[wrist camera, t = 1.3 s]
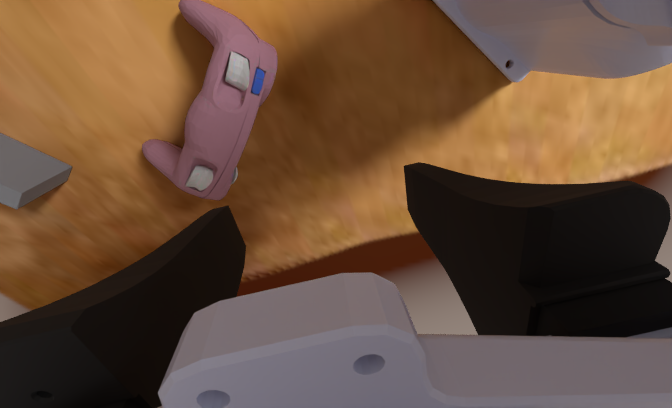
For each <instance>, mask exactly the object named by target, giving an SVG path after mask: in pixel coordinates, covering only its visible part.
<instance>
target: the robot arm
mask: <svg viewBox="0 0 672 408" xmlns="http://www.w3.org/2000/svg"><path fill="white" fill-rule="evenodd" d="M432 1H433V2H434V3H435V4H436V5H437V6H438V7H439V8H440V9H441V10H442V11H443V12H444V13H445V14H446V15H447V16H448V17H449V18H450V19H451V20H452V21H453V22H454V23H455V24H456V25H457V26H458V27H459V28H460V30H461V31H462V32H463V33H464V34H465V35H466V36H467V37H468V38H469V39H470V40H471V41H472V42H473V43H474V44H475V45H476V46H477V47H478V48H479V49H480V50H481V51H482V52H483V53H484V54H485V55H486V56H487V57H488V59H489V60H490V61H491V62H492V63H493V64H494V65H495V66H496V67H497V68H498V69H499V70H500V71H501V72H502V73H503V74H504V75H505V76H506V77H507V78H508V79H509V80H510V81H511V82H520V81H521V80H522V79H523V78H524V77H525V76H526V75H527V74H528V73H529V72H530V71H540V72H549V73H558V74H567V75H577V76H586V77H595V78H622V77H628V76H633V75H637V74H641V73H644V72H648V71H651V70H654V69H657V68H660V67H662V66H665V65H667V64H670V63H672V0H432ZM508 60H509V61H510V65H509V66H508V67H507V68H506V62H507V61H508ZM404 173H405V184H406V195H407V205H408V211H409V213H410V215H411V217H412V220H413V222H414V224H415V226H416V228H417V229H418V231H419V232H420V234H421V235H422V237H423V238H424V240H425V241H426V242H427V244H428V245H429V247H430V248H431V250H432V251H433V253H434V254H435V255H436V257H437V258H438V260H439V261H440V263H441V264H442V266H443V267H444V269H445V270H446V272H447V274H448V275H449V277H450V279H451V281H452V283H453V285H454V287H455V289H456V291H457V292H458V294H459V296H460V298H461V300H462V302H463V304H464V306H465V308H466V310H467V312H468V314H469V316H470V318H471V320H472V323H473V325H474V327H475V329H476V331H477V333H478V335H446V334H445V335H444V334H443V335H442V334H440V335H439V334H417V332H416V330H415V328H414V325H413V322H412V320H411V317H410V315H409V313H408V310H407V308H406V305H405V303H404V300H403V298H402V297H401V295H400V293H399V291H398V289H397V287H396V285H395V284H394V283H393V282H391V281H388V280H386V279H384V278H382V277H380V276H378V275H376V274H373V273H342V274H337V275H333V276H328V277H324V278H319V279H315V280H310V281H306V282H301V283H297V284H293V285H288V286H284V287H279V288H275V289H270V290H266V291H262V292H257V293H253V294H248V295H244V296H239V297H236V296H237V292H238V288H239V285H240V281H241V277H242V273H243V269H244V262H245V251H246V245H245V243H244V241H243V238H242V236H241V234H240V231H239V229H238V227H237V224H236V222H235V220H234V218H233V215H232V213H231V211H230V208H229V206H224V207H220V208H216V209H213V210H211V211H209V212H207V213H206V214H204V215H203V216H201V217H200V218H198V219H197V220H196V221H194V222H193V223H192V224H190V225H189V226H188V227H187V228H185V229H184V230H183V231H181V232H180V233H179V234H177V235H176V236H174V237H173V238H172V239H170V240H169V241H167V242H166V243H165V244H163V245H162V246H160V247H159V248H158V249H156V250H155V251H153V252H152V253H150V254H148V255H147V256H145V257H144V258H142V259H140V260H139V261H137V262H135V263H134V264H132V265H130V266H129V267H127V268H125V269H123V270H121V271H119V272H117V273H115V274H113V275H112V276H110V277H108V278H106V279H104V280H102V281H100V282H98V283H96V284H94V285H92V286H90V287H88V288H85V289H83V290H81V291H79V292H77V293H74V294H72V295H70V296H67V297H65V298H63V299H60V300H58V301H55V302H53V303H51V304H48V305H46V306H43V307H40V308H38V309H35V310H32V311H30V312H27V313H24V314H22V315H19V316H17V317H14V318H11V319H8V320H5V321H3V322H0V408H672V283H671V282H670V281H668V280H667V279H665V278H667V277H669V275H670V271H669V269H667V268H666V267H664V266H662V265H661V264H659V263H657V262H656V261H655V259H656V256H657V254H658V251H659V249H660V247H661V244H662V242H663V239H664V237H665V235H666V232H667V230H668V226H669V222H670V208H669V204H668V202H667V200H666V199H665V197H664V196H663V195H661V194H659V193H658V192H656V191H654V190H652V189H650V188H647V187H645V186H642V185H640V184H637V183H635V182H632V181H617V182H603V183H589V184H529V183H515V182H505V181H498V180H491V179H485V178H480V177H475V176H471V175H466V174H462V173H458V172H454V171H451V170H447V169H444V168H440V167H437V166H433V165H430V164H426V163H414V164H410V165H405V166H404Z"/></svg>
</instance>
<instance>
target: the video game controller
mask: <svg viewBox="0 0 672 408" xmlns="http://www.w3.org/2000/svg"><path fill="white" fill-rule="evenodd" d="M179 9H180V11H181V13H182V15H183V16H184V18H185V19H186V21H187V22H188V23H189V24H191V25H192V26H193V27H194V28H195V29H197V30H198V31H199V32H200V33H201V34H202V35H204V36H205V37H206V38H207V39H208V40H209V42H210V43H211V44H212V45H213V46H214V51H213V54H212V57H211V60H210V63H209V66H208V69H207V72H206V76H205V79H204V83H203V87H202V90H201V91H200V93H199V94H198V96H197V97H196V98H195V100H194V101H193V103H192V105H191V107H190V109H189V110H188V113H187V116H186V120H185V129H184V132H185V143H184V146H183V149H181V148H180V147H178V146H176V145H173V144H171V143H168V142H165V141H161V140H155V139H152V140H148V141H146V142H145V143H144V144H143V145H142V151H143V154H144V156H145V158H146V159H147V160H148V161H149V162H150V163H151V164H152V165H153V166H154V167H156V168H157V169H158V170H159V171H160V172H161V173H163V174H164V175H165V176H166V177H167V178H168V179H169V180H170V181H172V182H173V183H174V184H175V185H176V186H177V187H178V188H180V189H181V190H183V191H185V192H187V193H189V194H192V195H195V196H198V197H200V198H205V199H212V200H221V199H222V198H223V197H224V196H226V194H227V192H228V190H229V188H230V185H231V184H233V183H234V182H235V181H236V179H237V177H238V170H237V167H236V166H237V164H238V161H239V159H240V157H241V154H242V152H243V150H244V148H245V145H246V143H247V140H248V137H249V135H250V132H251V129H252V127H253V124H254V121H255V118H256V114H257V111H258V108H259V107H260V106H261V105H262V103H263V102H264V101H265V99H266V98H267V97H268V95H269V93H270V91H271V89H272V86H273V83H274V80H275V76H276V71H277V52H276V50H275V48H274V47H273V46H272V45H270V44H268V43H267V42H265V41H263V40H261V39H260V38H259V37H258V36H257V35H256V34H255V33H254V31H252V30H251V29H250V28H249V27H248V26H247V25H246V24H245V23H244V22H242V21H241V20H240V19H238V18H237V17H235V16H234V15H232V14H230V13H228V12H226V11H224V10H222V9H219V8H217V7H215V6H212V5H210V4H208V3H205V2H203V1H201V0H181V1H180V2H179Z"/></svg>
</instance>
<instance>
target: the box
mask: <svg viewBox="0 0 672 408" xmlns="http://www.w3.org/2000/svg"><path fill="white" fill-rule="evenodd" d="M71 169H72V166H70V165H68V164H66V163H64V162H61V161H59V160H57V159H55V158H53V157H51V156H49V155H46V154H44V153H42V152H40V151H38V150H36V149H34V148H32V147H29V146H27V145H25V144H23V143H21V142H19V141H17V140H14V139H12V138H10V137H8V136H6V135H4V134H2V133H0V203H2V204H4V205H7V206H9V207H12V208H14V209H19V208H20V207H22V206H24V205H26V204H27V203H29V202H31V201H33V200H34V199H36V198H38V197H40V196H41V195H43V194H45V193H46V192H48V191H50V190H52V189H53V188H55V187H57V186H59V185H60V184H62V183H64V182H66V181H67V180H68V177H69V174H70V172H71Z"/></svg>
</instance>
